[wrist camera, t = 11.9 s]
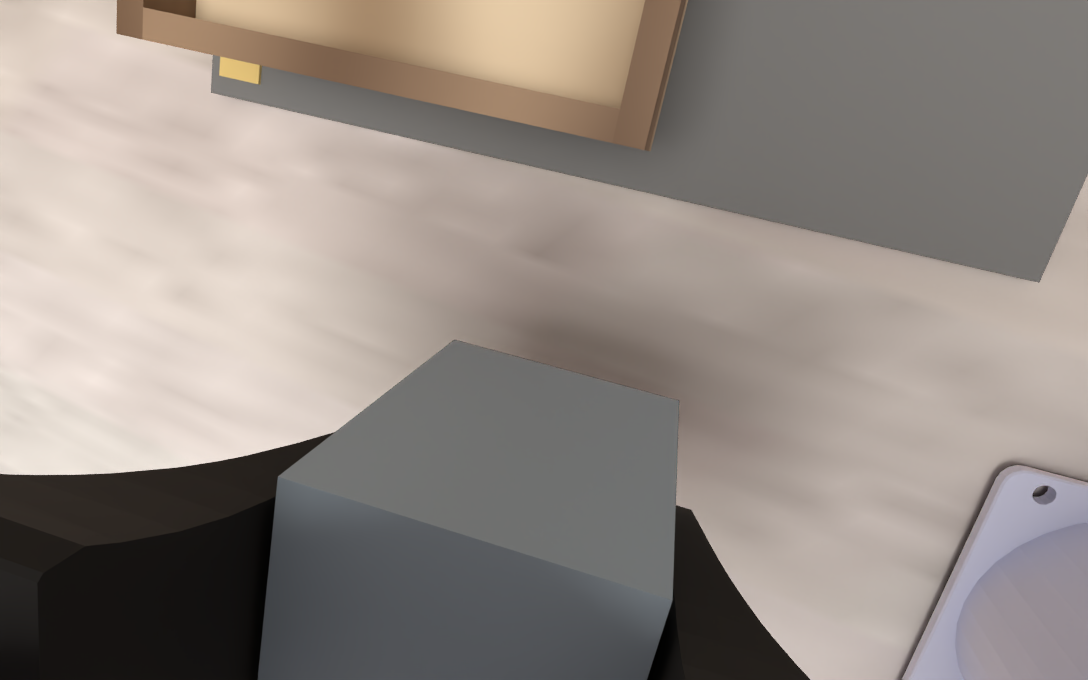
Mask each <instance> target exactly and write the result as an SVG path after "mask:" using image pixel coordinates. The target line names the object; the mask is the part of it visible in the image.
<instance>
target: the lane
mask: <svg viewBox="0 0 1088 680" xmlns="http://www.w3.org/2000/svg"><path fill="white" fill-rule="evenodd" d="M211 93H215V94H220V95H224V96H228V97H233V98H237V99H242V100H246V101H250V102H255V103H259V104H263V105H268V106H272V107H276V108H281V109H285V110H289V111H294V112H298V113H303V114H307V115H311V116H316V117H320V118H324V119H329V120H333V121H337V122H342V123H346V124H351V125H355V126H359V127H364V128H368V129H372V130H377V131H381V132H385V133H390V134H394V135H398V136H403V137H407V138H412V139H416V140H420V141H425V142H429V143H433V144H438V145H442V146H446V147H451V148H455V149H459V150H464V151H468V152H473V153H477V154H481V155H486V156H490V157H494V158H499V159H503V160H507V161H512V162H516V163H520V164H525V165H529V166H534V167H538V168H542V169H547V170H551V171H555V172H560V173H564V174H568V175H573V176H577V177H582V178H586V179H590V180H595V181H599V182H603V183H608V184H612V185H616V186H621V187H625V188H629V189H634V190H638V191H643V192H647V193H651V194H656V195H660V196H664V197H669V198H673V199H677V200H682V201H686V202H690V203H695V204H699V205H704V206H708V207H712V208H717V209H721V210H725V211H730V212H734V213H738V214H743V215H747V216H752V217H756V218H760V219H765V220H769V221H773V222H778V223H782V224H786V225H791V226H795V227H799V228H804V229H808V230H813V231H817V232H821V233H826V234H830V235H834V236H839V237H843V238H847V239H852V240H856V241H860V242H865V243H869V244H874V245H878V246H882V247H887V248H891V249H895V250H900V251H904V252H908V253H913V254H917V255H921V256H926V257H930V258H935V259H939V260H943V261H948V262H952V263H956V264H961V265H965V266H969V267H974V268H978V269H983V270H987V271H991V272H996V273H1000V274H1004V275H1009V276H1013V277H1017V278H1022V279H1026V280H1030V281H1035V282H1040V280H1041V277H1042V275H1043V273H1044V271H1045V269H1046V266H1047V264H1048V262H1049V260H1050V257H1051V255H1052V253H1053V251H1054V248H1055V246H1056V244H1057V242H1058V239H1059V237H1060V235H1061V233H1062V230H1063V228H1064V226H1065V224H1066V221H1067V219H1068V217H1069V215H1070V212H1071V210H1072V208H1073V206H1074V203H1075V201H1076V199H1077V197H1078V195H1079V192H1080V190H1081V188H1082V186H1083V183H1084V181H1085V179H1086V177H1087V174H1088V0H688V3H687V7H686V11H685V15H684V19H683V23H682V27H681V31H680V35H679V39H678V43H677V47H676V51H675V55H674V59H673V63H672V67H671V71H670V75H669V79H668V83H667V87H666V91H665V95H664V99H663V103H662V107H661V111H660V115H659V119H658V123H657V127H656V131H655V135H654V139H653V143H652V147H651V151H646V150H642V149H637V148H632V147H628V146H623V145H619V144H614V143H610V142H605V141H601V140H596V139H592V138H587V137H583V136H578V135H574V134H569V133H565V132H560V131H555V130H551V129H546V128H542V127H537V126H533V125H528V124H524V123H519V122H515V121H510V120H506V119H501V118H497V117H492V116H488V115H483V114H478V113H474V112H469V111H465V110H460V109H456V108H451V107H447V106H442V105H438V104H433V103H429V102H424V101H420V100H415V99H411V98H406V97H402V96H397V95H392V94H388V93H383V92H379V91H374V90H370V89H365V88H361V87H356V86H352V85H347V84H343V83H338V82H334V81H329V80H325V79H320V78H315V77H311V76H306V75H302V74H297V73H293V72H288V71H284V70H279V69H275V68H270V67H266V66H261V65H257V64H252V63H248V62H243V61H238V60H234V59H229V58H225V57H220V56H216V55H213V64H212V83H211Z"/></svg>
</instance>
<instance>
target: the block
mask: <svg viewBox="0 0 1088 680" xmlns="http://www.w3.org/2000/svg"><path fill="white" fill-rule="evenodd" d="M678 419H679V400H675V399H671V398H668V397H664V396H660V395H657V394H653V393H649V392H645V391H642V390H638V389H634V388H631V387H627V386H623V385H620V384H616V383H612V382H609V381H605V380H601V379H598V378H594V377H590V376H586V375H583V374H579V373H575V372H572V371H568V370H564V369H561V368H557V367H553V366H550V365H546V364H542V363H539V362H535V361H531V360H528V359H524V358H520V357H516V356H513V355H509V354H505V353H502V352H498V351H494V350H491V349H487V348H483V347H480V346H476V345H472V344H469V343H465V342H461V341H457V340H453V341H452V342H451V343H450V344H448V345H447V346H446V347H444V348H443V349H442V350H441V351H439V352H438V353H437V354H435V355H434V356H433V357H432V358H430V359H429V360H428V361H426V362H425V363H424V364H422V365H421V366H420V367H419V368H417V369H416V370H415V371H413V372H412V373H411V374H410V375H408V376H407V377H406V378H404V379H403V380H402V381H401V382H399V383H398V384H397V385H395V386H394V387H393V388H392V389H390V390H389V391H388V392H386V393H385V394H384V395H382V396H381V397H380V398H379V399H377V400H376V401H375V402H373V403H372V404H371V405H370V406H368V407H367V408H366V409H364V410H363V411H362V412H361V413H359V414H358V415H357V416H355V417H354V418H353V419H352V420H350V421H349V422H348V423H346V424H345V425H344V426H342V427H341V428H340V429H339V430H337V431H336V432H335V433H333V434H332V435H331V436H330V437H328V438H327V439H326V440H324V441H323V442H322V443H321V444H319V445H318V446H317V447H315V448H314V449H313V450H312V451H310V452H309V453H308V454H306V455H305V456H304V457H302V458H301V459H300V460H299V461H297V462H296V463H295V464H293V465H292V466H291V467H290V468H288V469H287V470H286V471H284V472H283V473H282V474H281V475H279V476H278V480H277V490H276V500H275V510H274V520H273V530H272V540H271V550H270V560H269V570H268V580H267V590H266V600H265V610H264V621H263V631H262V641H261V651H260V661H259V671H258V680H647V678H648V675H649V672H650V669H651V665H652V662H653V659H654V656H655V653H656V650H657V647H658V644H659V641H660V638H661V634H662V631H663V628H664V625H665V622H666V619H667V616H668V613H669V610H670V607H671V603H672V600H673V571H674V540H675V510H676V480H677V449H678Z"/></svg>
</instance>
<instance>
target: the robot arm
mask: <svg viewBox="0 0 1088 680" xmlns="http://www.w3.org/2000/svg"><path fill="white" fill-rule="evenodd" d="M334 433H335V432H334ZM332 434H333V433H331V434H327V435H324V436H320V437H317V438H313V439H310V440H307V441H303V442H300V443H296V444H292V445H288V446H284V447H280V448H276V449H272V450H268V451H264V452H260V453H256V454H252V455H248V456H243V457H238V458H234V459H228V460H223V461H218V462H211V463H205V464H199V465H192V466H186V467H178V468H169V469H158V470H146V471H135V472H124V473H112V474H87V475H8V474H0V680H258V671H259V661H260V651H261V641H262V631H263V621H264V610H265V600H266V590H267V580H268V570H269V560H270V550H271V540H272V530H273V520H274V510H275V500H276V490H277V480H278V476H279V475H281V474H282V473H283V472H284V471H286V470H287V469H288V468H290V467H291V466H292V465H293V464H295V463H296V462H297V461H299V460H300V459H301V458H302V457H304V456H305V455H306V454H308V453H309V452H310V451H312V450H313V449H314V448H315V447H317V446H318V445H319V444H321V443H322V442H323V441H324V440H326V439H327V438H328V437H330V436H331V435H332ZM1040 486H1048V491H1047V492H1046V493H1045V494H1044V495H1042V496H1039V497H1032V496H1033V492H1034V490H1035V489H1036V488H1038V487H1040ZM647 680H810V679H809V678H808V677H807V675H806V674H805V673H804V672H803V671H802V670H801V669H800V668H799V667H798V666H797V665H796V664H795V663H794V661H793V660H792V659H791V658H790V657H789V656H788V654H787V653H786V652H785V651H784V650H783V649H782V648H781V646H780V645H779V644H778V643H777V642H776V641H775V639H774V638H773V637H772V636H771V635H770V633H769V632H768V631H767V630H766V628H765V627H764V626H763V625H762V623H761V622H760V621H759V619H758V618H757V617H756V615H755V614H754V612H753V611H752V610H751V608H750V607H749V605H748V604H747V603H746V601H745V600H744V599H743V597H742V596H741V594H740V593H739V591H738V590H737V588H736V587H735V585H734V584H733V582H732V581H731V579H730V578H729V576H728V574H727V573H726V571H725V570H724V568H723V566H722V565H721V563H720V561H719V560H718V558H717V556H716V554H715V552H714V551H713V549H712V547H711V545H710V544H709V542H708V540H707V538H706V536H705V534H704V532H703V531H702V529H701V527H700V525H699V523H698V521H697V520H696V518H695V516H694V514H693V512H692V511H691V510H690V509H686V508H683V507H679V506H676V510H675V540H674V571H673V600H672V603H671V607H670V610H669V613H668V616H667V619H666V622H665V625H664V628H663V631H662V634H661V638H660V641H659V644H658V647H657V650H656V653H655V656H654V659H653V662H652V665H651V669H650V672H649V675H648V678H647ZM902 680H1088V483H1087V482H1084V481H1080V480H1076V479H1072V478H1069V477H1065V476H1061V475H1057V474H1054V473H1050V472H1046V471H1042V470H1038V469H1035V468H1031V467H1027V466H1020V465H1015V466H1011V467H1007V468H1006V469H1004V470H1003V471H1001V472H1000V473H999V475H998V476H997V477H996V479H995V482H994V484H993V486H992V488H991V490H990V492H989V494H988V497H987V499H986V501H985V503H984V505H983V507H982V509H981V511H980V514H979V516H978V518H977V520H976V522H975V524H974V526H973V529H972V531H971V533H970V535H969V537H968V539H967V541H966V543H965V546H964V548H963V550H962V552H961V554H960V556H959V558H958V561H957V563H956V565H955V567H954V569H953V571H952V573H951V575H950V578H949V580H948V582H947V584H946V586H945V588H944V590H943V593H942V595H941V597H940V599H939V601H938V603H937V605H936V608H935V610H934V612H933V614H932V616H931V618H930V620H929V622H928V625H927V627H926V629H925V631H924V633H923V635H922V637H921V640H920V642H919V644H918V646H917V648H916V650H915V652H914V654H913V657H912V659H911V661H910V663H909V665H908V667H907V669H906V672H905V674H904V676H903V678H902Z"/></svg>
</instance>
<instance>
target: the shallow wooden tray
mask: <svg viewBox="0 0 1088 680" xmlns="http://www.w3.org/2000/svg"><path fill="white" fill-rule="evenodd" d="M687 3H688V0H117V34H121V35H125V36H130V37H134V38H139V39H143V40H148V41H152V42H157V43H161V44H166V45H171V46H175V47H180V48H184V49H189V50H193V51H198V52H202V53H207V54H211V55H216V56H220V57H225V58H229V59H234V60H238V61H243V62H248V63H252V64H257V65H261V66H266V67H270V68H275V69H279V70H284V71H288V72H293V73H297V74H302V75H306V76H311V77H315V78H320V79H325V80H329V81H334V82H338V83H343V84H347V85H352V86H356V87H361V88H365V89H370V90H374V91H379V92H383V93H388V94H392V95H397V96H402V97H406V98H411V99H415V100H420V101H424V102H429V103H433V104H438V105H442V106H447V107H451V108H456V109H460V110H465V111H469V112H474V113H478V114H483V115H488V116H492V117H497V118H501V119H506V120H510V121H515V122H519V123H524V124H528V125H533V126H537V127H542V128H546V129H551V130H555V131H560V132H565V133H569V134H574V135H578V136H583V137H587V138H592V139H596V140H601V141H605V142H610V143H614V144H619V145H623V146H628V147H632V148H637V149H642V150H646V151H651V147H652V143H653V139H654V135H655V131H656V127H657V123H658V119H659V115H660V111H661V107H662V103H663V99H664V95H665V91H666V87H667V83H668V79H669V75H670V71H671V67H672V63H673V59H674V55H675V51H676V47H677V43H678V39H679V35H680V31H681V27H682V23H683V19H684V15H685V11H686V7H687Z"/></svg>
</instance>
